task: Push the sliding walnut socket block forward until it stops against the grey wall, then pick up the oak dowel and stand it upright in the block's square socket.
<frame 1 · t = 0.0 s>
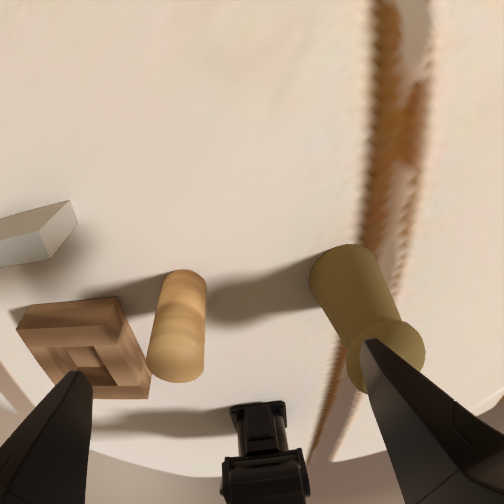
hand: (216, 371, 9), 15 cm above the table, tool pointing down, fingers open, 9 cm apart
dowel: (184, 288, 25), on the table
wall: (30, 222, 21), on the table
cork: (343, 274, 26), on the table
socket block: (85, 353, 26), point 2 cm above the table, slide at 0.0 cm
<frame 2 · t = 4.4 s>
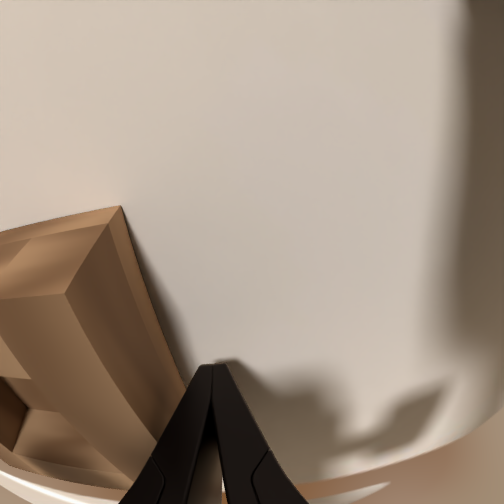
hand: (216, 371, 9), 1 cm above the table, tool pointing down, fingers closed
socket block: (32, 387, 8), point 2 cm above the table, slide at 1.4 cm, touching gripper
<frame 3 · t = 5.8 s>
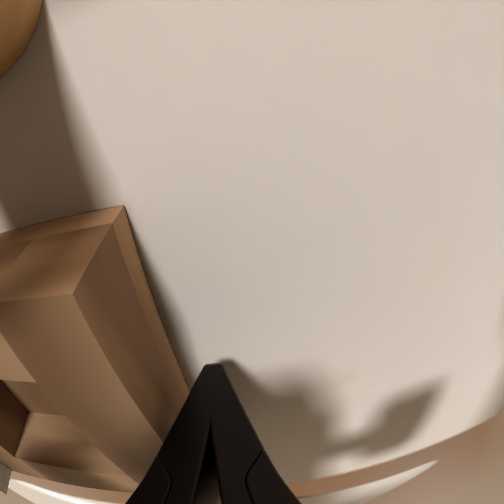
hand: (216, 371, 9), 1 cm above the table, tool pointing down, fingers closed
socket block: (34, 390, 8), point 2 cm above the table, slide at 7.0 cm, touching gripper, wall
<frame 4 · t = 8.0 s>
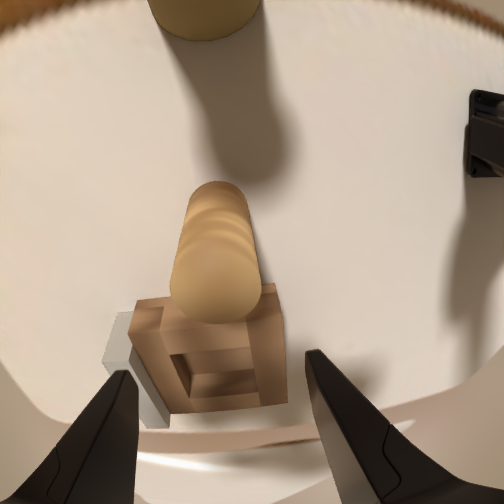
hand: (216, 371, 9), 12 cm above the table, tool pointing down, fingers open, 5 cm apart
dowel: (217, 209, 19), on the table
wall: (147, 351, 25), on the table
socket block: (216, 357, 24), point 2 cm above the table, slide at 7.0 cm
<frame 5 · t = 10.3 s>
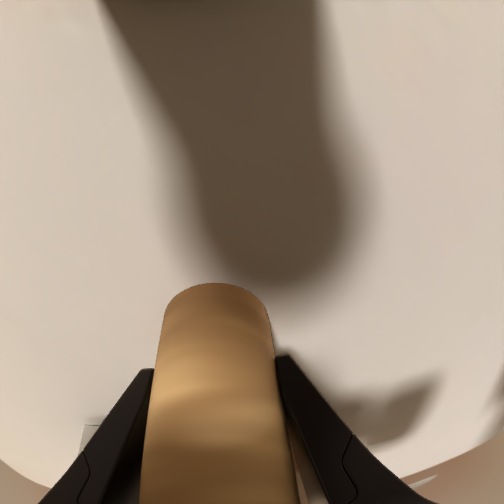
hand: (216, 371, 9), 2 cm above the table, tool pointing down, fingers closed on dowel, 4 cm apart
dowel: (215, 325, 11), on the table, touching gripper
socket block: (219, 480, 15), point 2 cm above the table, slide at 7.0 cm
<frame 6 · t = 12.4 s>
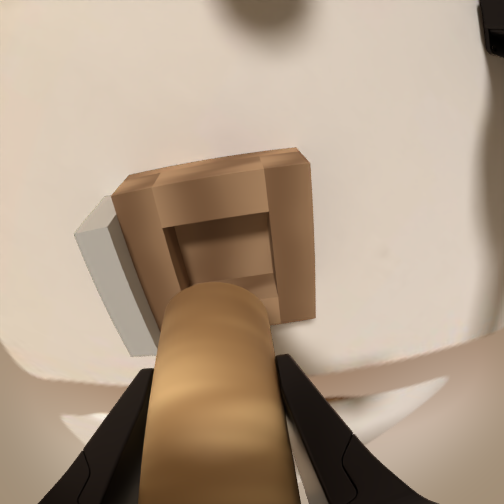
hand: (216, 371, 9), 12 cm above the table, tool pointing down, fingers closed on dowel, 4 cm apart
dowel: (215, 324, 11), point 10 cm above the table, touching gripper
wall: (138, 255, 21), on the table
socket block: (223, 248, 19), point 2 cm above the table, slide at 7.0 cm
when the fingers open (4 cm above the table, at t = 14.8 s): dowel stays where it is, resting on socket block.
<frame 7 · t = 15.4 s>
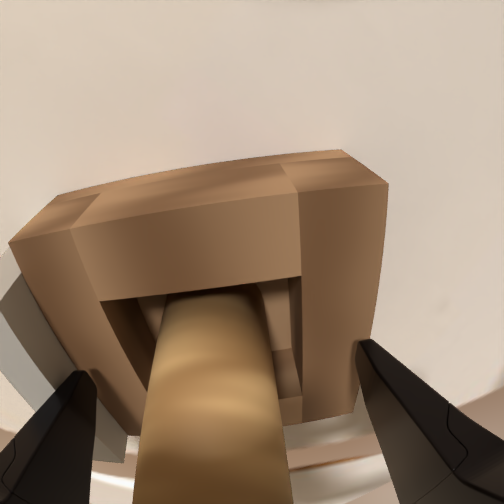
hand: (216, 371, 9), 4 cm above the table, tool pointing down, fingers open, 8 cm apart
dowel: (214, 308, 12), point 1 cm above the table, touching socket block
wall: (84, 315, 13), on the table
socket block: (214, 322, 11), point 2 cm above the table, slide at 7.0 cm, touching dowel
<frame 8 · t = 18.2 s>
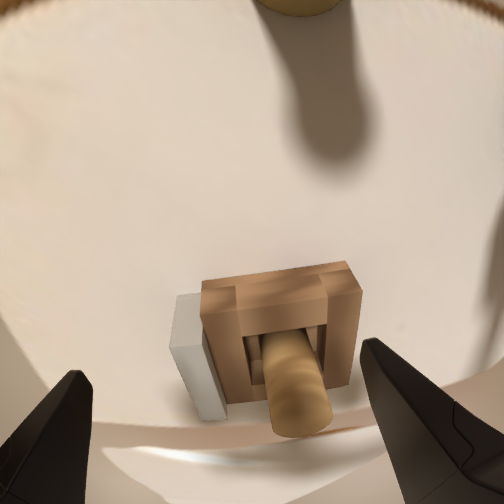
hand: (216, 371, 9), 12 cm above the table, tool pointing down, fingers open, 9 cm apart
dowel: (281, 333, 24), point 1 cm above the table, touching socket block
wall: (203, 338, 25), on the table
socket block: (282, 340, 23), point 2 cm above the table, slide at 7.0 cm, touching dowel
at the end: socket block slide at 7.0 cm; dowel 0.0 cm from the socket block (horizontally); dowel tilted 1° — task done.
